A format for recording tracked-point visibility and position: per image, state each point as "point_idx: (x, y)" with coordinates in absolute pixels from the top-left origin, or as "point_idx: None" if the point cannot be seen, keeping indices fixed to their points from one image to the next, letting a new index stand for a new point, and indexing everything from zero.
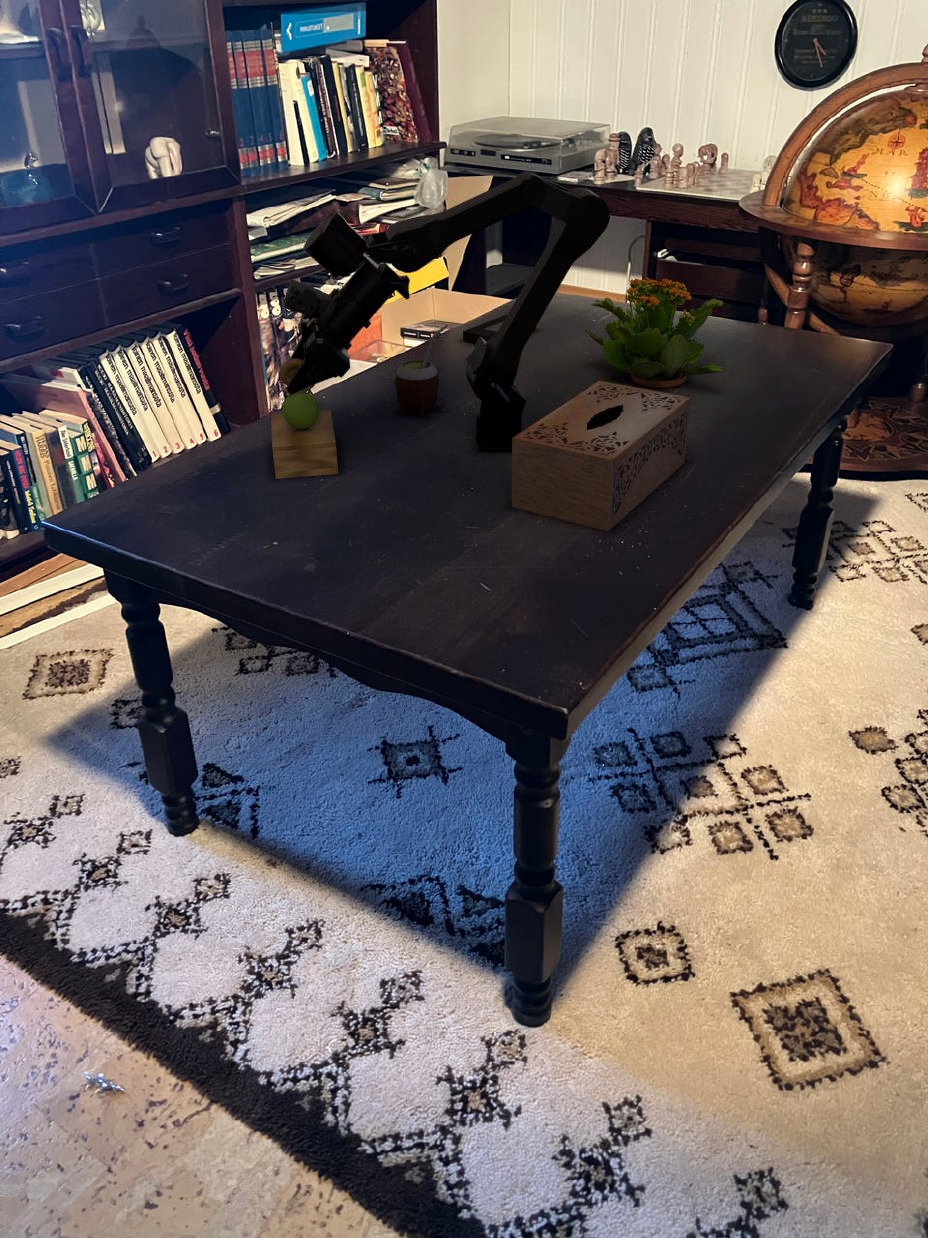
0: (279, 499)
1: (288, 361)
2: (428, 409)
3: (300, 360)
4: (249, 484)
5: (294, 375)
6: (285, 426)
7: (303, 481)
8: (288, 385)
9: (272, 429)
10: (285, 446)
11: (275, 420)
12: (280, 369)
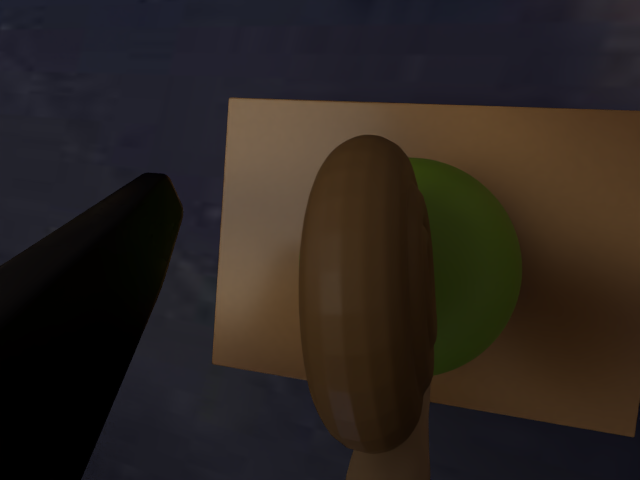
0: (135, 124)
1: (318, 242)
2: None
3: (322, 392)
4: (262, 30)
5: (40, 254)
6: None
7: None
8: (118, 192)
9: (434, 108)
10: (225, 155)
11: (564, 130)
12: (354, 142)
